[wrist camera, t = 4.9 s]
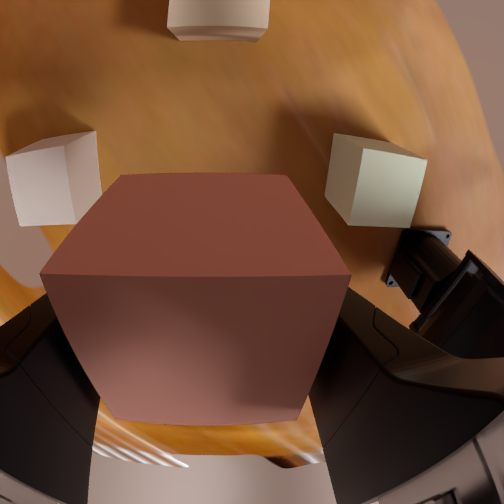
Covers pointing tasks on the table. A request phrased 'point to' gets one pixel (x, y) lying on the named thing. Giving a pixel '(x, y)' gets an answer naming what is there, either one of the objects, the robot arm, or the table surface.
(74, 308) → the brick-red block
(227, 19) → the ash block
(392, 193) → the sage green block
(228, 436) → the table surface
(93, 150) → the pale grey block
